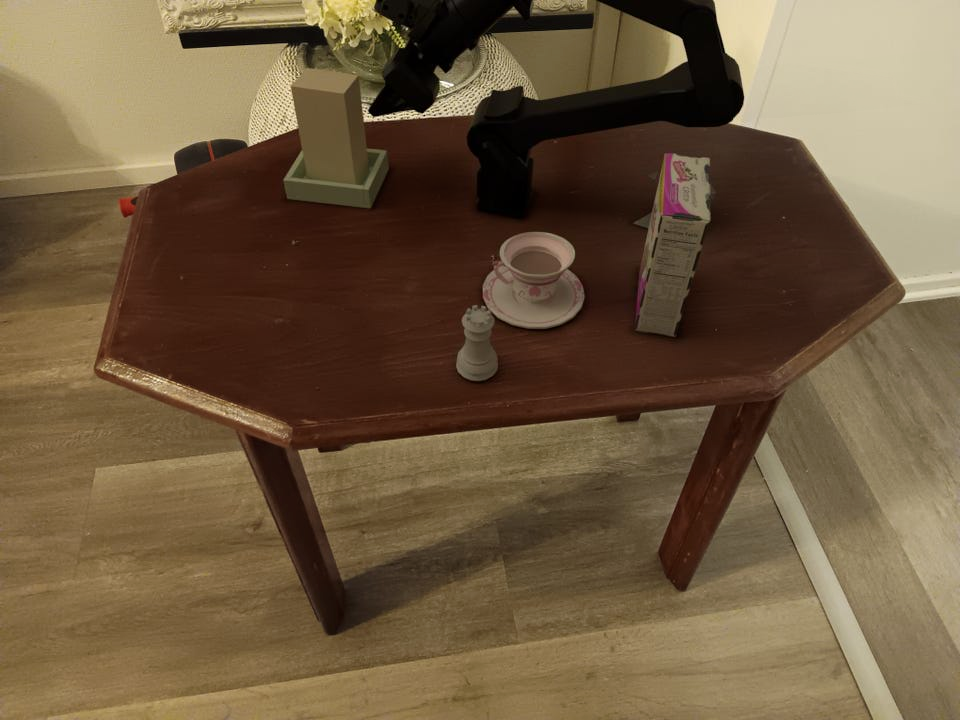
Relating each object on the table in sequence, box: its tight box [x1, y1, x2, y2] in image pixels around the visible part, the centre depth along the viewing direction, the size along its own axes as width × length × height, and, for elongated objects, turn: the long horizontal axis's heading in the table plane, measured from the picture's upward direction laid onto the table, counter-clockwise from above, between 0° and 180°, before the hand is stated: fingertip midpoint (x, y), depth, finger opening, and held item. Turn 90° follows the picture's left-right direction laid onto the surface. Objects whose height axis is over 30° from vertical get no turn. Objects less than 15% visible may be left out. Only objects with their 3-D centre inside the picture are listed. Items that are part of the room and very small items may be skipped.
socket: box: [283, 148, 390, 210], centre depth 98 cm, size 12×10×3 cm
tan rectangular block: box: [290, 67, 369, 185], centre depth 94 cm, size 7×5×14 cm
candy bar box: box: [634, 152, 711, 338], centre depth 78 cm, size 11×5×16 cm, turn 168°
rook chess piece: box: [455, 304, 499, 382], centre depth 74 cm, size 4×4×8 cm
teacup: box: [482, 231, 586, 330], centre depth 82 cm, size 12×12×6 cm
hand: (380, 95), depth 89 cm, fingers open, 9 cm apart
